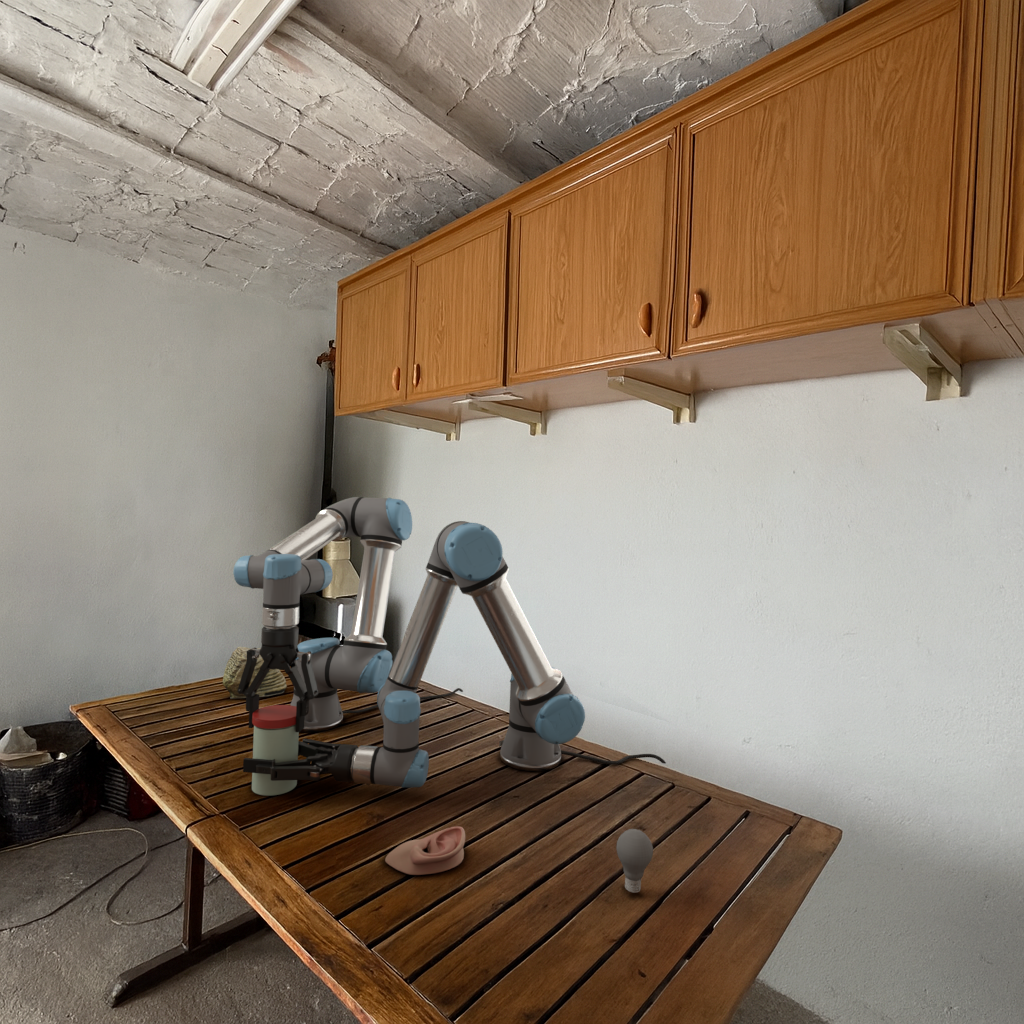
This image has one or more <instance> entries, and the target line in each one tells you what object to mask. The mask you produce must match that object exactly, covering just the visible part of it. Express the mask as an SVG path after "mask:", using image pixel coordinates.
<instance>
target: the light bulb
mask: <svg viewBox="0 0 1024 1024" xmlns="http://www.w3.org/2000/svg"><path fill="white" fill-rule="evenodd" d="M615 849H616V854H617V857H618V859H619V861H620V863H621V865H622V867H623V873H624V874H623V875H624V876H625V878H624V888H625V890H627V891H628V892H630V893H634V894H635V893H639V892H640V891H641V889H642V887H641V886H642V879H643V877H644V875H645V871H646V868H647V867H648V866H649V864H650V863H651V861H652V859H653V855H654V847H653V843H652V841H651V838H649V836H648V835H647V834H646V833H645V832H643V831H642V830H641V829H636V828H629V829H627V830H625V831H623V832H622V833H621V834H620V835H619V837H618V839H617V841H616V847H615Z"/></svg>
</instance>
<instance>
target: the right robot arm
mask: <svg viewBox="0 0 1024 1024" xmlns="http://www.w3.org/2000/svg"><path fill="white" fill-rule="evenodd" d="M434 541H435V542H434V544H433V547H432V549H431V553H430V556H429V558H428V560H427V561H428V562H427V564H426V566H425V571H426V573H427V575H426V578H425V581H424V583H423V585H422V588H421V591H420V593H419V596H418V599H417V601H416V604H415V607H414V609H413V611H412V614H411V617H410V619H409V622H408V624H407V627H406V629H405V631H404V634H403V637H402V639H401V642H400V645H399V647H398V649H397V652H396V655H395V657H394V659H393V661H392V667H391V670H390V672H389V675H388V678H387V680H386V682H385V683H384V684H383V685H382V686H381V687H380V689H379V691H378V692H377V697H376V705H378V707H377V708H378V709H379V713H380V715H381V719H382V723H383V741H382V746H378V745H377V746H376V745H365V744H364V745H363V744H361V745H357V744H347V743H342V744H341V743H331V742H327V741H321V740H315V739H311V738H303V739H302V741H301V740H298V757H304V759H298V760H295V761H286V762H277V763H275V759H274V760H265V759H253V757H244V758H243V763H242V772H243V773H249V774H252V773H260V774H271V780H272V781H280V780H297V781H314V782H318V781H320V780H321V775H327V774H331V775H332V777H333V779H334V780H335V782H342V783H352V782H354V783H356V784H365V785H366V786H370V785H378V786H390V787H397V788H402V789H404V788H411V789H412V788H413V789H414V788H421V787H423V786H424V785H425V783H426V781H427V778H428V773H429V766H430V758H429V756H430V755H429V753H428V751H427V750H423V749H421V748H420V745H419V743H420V742H419V736H420V721H421V720H420V719H421V718H420V717H421V713H422V709H421V700H420V697H421V696H420V695H419V694H418V693H417V692H418V689H419V685H420V682H421V680H422V678H423V676H424V673H425V670H426V667H427V666H428V663H429V660H430V658H431V655H432V653H433V650H434V648H435V646H436V645H435V644H436V642H437V641H438V638H439V635H440V633H441V629H442V627H443V624H444V623H445V619H446V617H447V614H448V612H449V609H450V607H451V604H452V602H453V599H454V597H455V593H456V591H457V589H458V588H459V590H460V593H461V594H463V595H466V596H469V597H471V598H472V599H473V602H474V604H475V606H476V608H477V610H478V611H479V614H480V615H481V617H482V619H483V621H484V623H485V625H486V627H487V629H488V631H489V633H490V634H491V637H492V639H493V640H494V642H495V644H496V647H497V648H498V650H499V652H500V654H501V656H502V657H503V659H504V662H505V663H506V666H507V667H508V669H509V671H510V673H511V675H510V680H509V683H510V684H509V685H510V686H509V687H510V688H509V710H508V711H509V712H508V714H509V715H508V727H507V730H506V733H505V736H504V738H503V739H502V740H499V745H498V747H500V750H499V751H500V752H499V758H500V761H501V762H502V763H503V764H505V765H506V766H507V767H510V768H513V769H516V770H520V771H527V772H542V771H543V772H544V771H549V770H552V769H554V768H557V767H558V766H559V765H560V764H561V762H562V755H566V756H570V757H574V758H578V759H583V760H587V761H591V762H596V763H598V764H602V765H608V766H609V765H610V766H614V765H615V766H616V765H620V764H623V763H625V762H626V761H628V760H633V759H634V760H635V759H643V758H652V759H655V760H657V761H659V762H660V763H661V764H667V761H665V760H664V759H663V758H662V757H661V756H659V755H657V754H653V753H639V754H629V755H626V756H624V757H622V758H621V759H618V760H605V759H601V758H597V757H594V756H590V755H585V754H581V753H577V752H573V751H567V750H562V749H561V745H564V744H567V743H568V742H570V741H572V740H573V739H575V738H576V737H577V736H578V734H580V732H581V731H582V729H583V726H584V723H585V720H586V709H585V706H584V704H583V703H582V701H581V699H580V698H579V697H578V696H576V695H575V694H574V693H573V692H572V690H571V688H570V686H569V684H568V682H567V680H566V678H565V677H564V675H563V673H562V671H561V670H560V669H557V668H555V667H554V666H551V663H550V661H549V660H548V658H547V655H546V654H545V652H544V650H543V648H542V646H541V644H540V642H539V640H538V638H537V637H536V634H535V632H534V630H533V628H532V627H531V624H530V622H529V621H528V618H527V616H526V615H525V612H524V611H523V609H522V607H521V604H520V603H519V601H518V599H517V597H516V595H515V593H514V591H513V589H512V587H511V585H510V583H509V581H508V579H507V576H508V573H509V570H510V568H509V566H508V564H507V562H506V560H505V557H504V556H503V555H504V553H503V552H504V551H503V545H502V543H501V541H500V539H499V536H498V535H497V534H496V533H495V532H494V531H493V530H492V529H490V528H489V527H487V526H486V525H484V524H481V523H478V522H470V521H465V520H458V521H453V522H451V523H449V524H447V525H445V526H444V527H443V528H442V529H441V530H440V532H439V533H438V534H437V537H436V539H435V540H434Z"/></svg>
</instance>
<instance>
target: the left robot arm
mask: <svg viewBox="0 0 1024 1024" xmlns="http://www.w3.org/2000/svg"><path fill="white" fill-rule="evenodd" d="M412 531H413V517H412V512H411V509H410V506H409V504H408V503H407V502H406V501H405V500H403V499H400V498H391V497H368V496H367V497H366V496H365V497H364V496H353V497H348V498H345V499H341V500H340V501H337V502H335V503H333V504H330V505H329V506H327V507H325V508H324V509H322V510H320V511H319V512H317V514H316V516H315V519H312V521H310V522H308V523H307V524H305V525H304V526H302V527H301V528H299V529H298V530H296V531H294V532H293V533H291V534H290V535H288V536H287V537H285V538H284V539H282V540H280V541H279V542H277V543H276V544H274V545H273V546H271V547H269V548H268V549H266V550H265V551H263V552H262V553H260V554H258V555H253V554H250V555H243V556H240V557H239V558H238V559H237V560H236V561H235V564H234V566H233V571H232V572H233V578H234V581H235V583H236V584H237V585H238V586H240V587H244V588H250V589H252V590H253V589H257V590H258V589H259V590H263V593H262V594H263V595H262V596H263V597H262V598H263V599H262V611H261V612H262V615H261V616H262V617H261V624H262V626H263V627H262V628H261V637H260V639H261V640H260V642H261V643H260V644H261V647H260V648H261V649H257V647H252V648H250V650H248V651H247V661H246V665H245V668H244V671H243V674H242V677H241V680H240V684H239V687H238V690H237V692H238V693H239V694H241V693H242V694H244V695H245V696H246V698H245V711H246V712H248V729H254V725H253V724H252V714H253V712H254V711H256V710H258V709H260V697H259V695H258V694H256V695H255V693H257V692H256V691H257V690H258V688H259V686H260V685H261V683H262V682H263V680H264V678H265V677H266V675H267V673H268V672H269V670H270V669H279V670H280V671H284V672H285V674H286V675H287V676H288V678H289V680H290V682H291V684H292V687H293V695H292V696H293V697H292V699H291V702H290V704H289V705H291V706H296V732H299V733H300V732H301V733H316V732H325V731H329V730H332V729H335V728H337V727H339V726H340V725H342V723H343V722H344V715H345V714H360V713H365V712H368V711H371V710H374V709H377V708H379V707H378V705H377V704H375V705H372V706H369V707H366V708H363V709H356V710H352V709H351V710H343V709H342V706H341V702H340V699H339V695H338V690H342V691H350V692H357V693H359V694H376V693H378V691H379V689H380V687H381V686H382V685H383V684H384V683H385V682H386V680H387V678H388V675H389V672H390V670H391V667H392V664H393V654H392V652H390V651H389V650H388V649H387V647H388V643H387V642H386V640H385V638H384V637H383V635H384V630H385V622H386V616H387V608H388V603H389V602H388V601H389V595H390V589H391V584H392V583H391V582H392V575H393V570H394V562H395V556H396V552H398V551H399V550H400V549H401V548H402V545H403V541H406V540H408V539H410V537H411V534H412ZM347 537H348V538H351V537H355V538H360V544H361V546H363V548H364V550H363V556H362V563H361V568H360V575H359V582H358V588H357V594H356V600H355V606H354V612H353V617H352V623H351V624H352V625H351V630H350V634H349V635H348V636H346V637H345V638H344V639H343V645H340V644H341V641H340V639H339V638H337V637H320V638H319V637H318V638H313V639H307V640H304V641H302V642H299V629H300V627H299V626H298V625H299V623H300V598H301V595H306V594H311V593H317V592H320V591H322V590H325V589H326V588H328V587H329V586H330V584H331V583H332V581H333V569H332V566H331V565H330V563H328V561H326V560H324V559H320V558H311V557H312V556H314V555H315V554H316V553H318V552H319V551H320V550H321V549H323V548H325V547H326V546H327V545H328V544H330V543H332V542H338V541H340V540H342V539H343V538H347ZM310 558H311V559H310ZM259 655H260V656H261V657H262V659H263V660H264V662H263V664H262V665H261V667H260V670H259V672H258V673H257V675H256V677H255V678H254V680H253V682H252V683H251V685H250V682H251V678H252V675H253V672H254V669H255V666H256V663H257V658H259ZM249 685H250V686H249ZM457 692H460V693H463V692H464V690H463V689H462V688H460V687H457V688H456V689H454V690H453V691H452V692H449V693H443V694H435V695H427V696H419V697H420V701H421V700H428V699H429V700H430V699H438V698H444V697H450V696H453V695H454V694H456V693H457Z"/></svg>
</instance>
